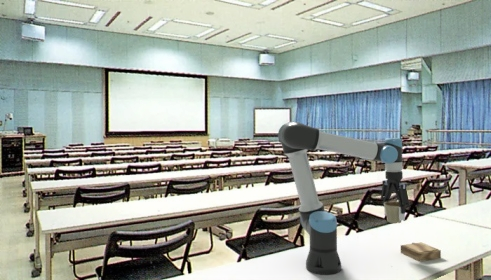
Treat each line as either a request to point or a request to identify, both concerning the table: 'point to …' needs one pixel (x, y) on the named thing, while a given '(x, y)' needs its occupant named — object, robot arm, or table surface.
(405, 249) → the plinth
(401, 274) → the table surface
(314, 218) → the robot arm
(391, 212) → the flower pot
